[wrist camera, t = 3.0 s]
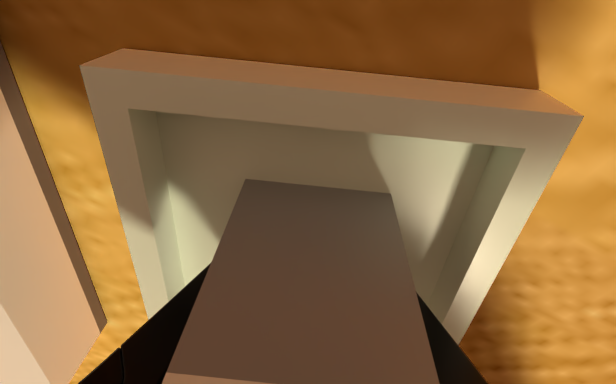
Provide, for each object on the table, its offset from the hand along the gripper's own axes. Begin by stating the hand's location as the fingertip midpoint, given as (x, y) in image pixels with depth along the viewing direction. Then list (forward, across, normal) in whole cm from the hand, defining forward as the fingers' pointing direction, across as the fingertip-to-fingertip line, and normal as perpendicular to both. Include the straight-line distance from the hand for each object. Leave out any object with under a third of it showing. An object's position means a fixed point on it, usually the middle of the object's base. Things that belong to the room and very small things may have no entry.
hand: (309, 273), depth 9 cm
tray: (+2, 0, 0) cm, 2 cm away
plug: (+1, 0, 0) cm, 1 cm away
